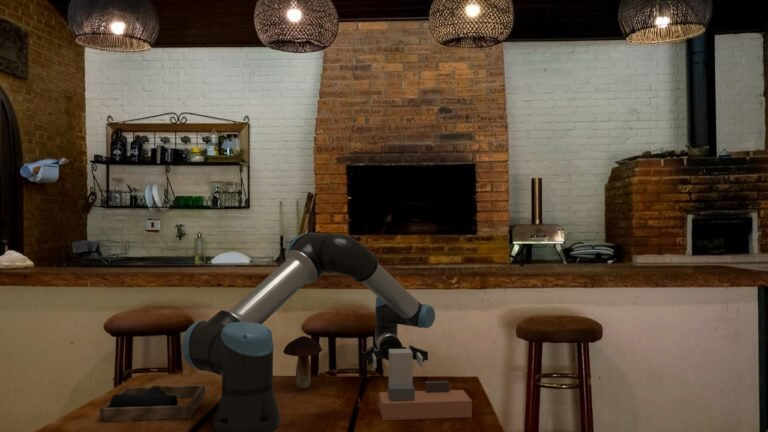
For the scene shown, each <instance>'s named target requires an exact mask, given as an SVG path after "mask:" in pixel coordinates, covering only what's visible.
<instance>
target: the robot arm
mask: <svg viewBox="0 0 768 432" xmlns="http://www.w3.org/2000/svg"><path fill="white" fill-rule="evenodd" d="M288 247H289V249H288V250H287V253H286V254H285V261H284V262H283V263H281V264H280V266H278V267H277V268H276V269H275V270H274V271H273V272H272V273H270V274H269V275H268V276H267V277H266V278H264V279H263V280H262V281H261V282H260V283H259V284H258V285H257V286H255V287H254V288H252V290H251V291H250V292H249V293H248V294H246V295H245V296H244V297H243V298H242V299H240V300H239V301H238V302H237V303H236V304H235V305H234V306H233V307H231V308H230V309H229V310H227V309H221V310H219V311H217V313H216V314H214V315H213V316H212V317H211V318H209V320H200V321H197V322H194V323H193V324H191V325H189V327H188V328H187V330H186V331H185V333H184V334H183V338H182V345H181V351H182V355H183V358H184V360H185V361H186V363H187V364H188V365H190V366H191V367H193V368H196V370H198V371H202V372H203V371H206V372H208V373H213V374H216V375H219V376H221V396H220V398H219V402H218V405H217V409H216V411H215V415H214V419H213V429H214V432H272V431H274V430H276V429H277V428H278V427H279V426H280V425H281V411H280V410H279V405H278V404H277V400H276V397H275V394H274V390H273V384H274V383H273V382H274V379H273V377H274V375H273V373H274V371H273V370H274V342H273V341H274V340H273V333H272V331H271V329H270V328H269V327H268V326H266V325H264V323H265V322H266V321H268V319H270V318H271V316H273V314H275V313H276V312H277V311H278V310H279V309H280V308H281V307H282V306H283V305H284V304H285V303H286V302H287V301H288V300H289V299H290V298H292V297H293V296H294V295H295V294H296V293H297V292H298V291H299V290H300V289H301V288H302V287H304V285H306V284H313V283H315V282H316V281H317V280H319V278H320V277H321V276H322V275H324V274H333V275H334V274H335V275H342V276H346V277H348V278H351V279H352V280H353V281H354V282H356V283H361V284H363V285H364V286H365V287H366V288H367V289H369V291H371V292H372V293H373V294H374V295H376V298H375V307H374V309H375V333H374V343H375V345H376V347H375V346H373V345H372V346H370V347H369V348H368V349H366V350H365V351H362V352H361V362H362V363H365V362H367V365H369V366H370V365H372V367H373V369H377V361H379V360H386V361H388V362H389V349H410V350H411V351H412V353H413V361H416V363H417V364H418V366H419V367H420V368H423V367H424V363H425V361H428V360H429V351H426V350H424V349H421V348H418V347H415V346H413V345H409V346H408V348H407V347H406V346H403V344H402V342H401V340H400V339H399V337H398V325H401V326H408V327H414V328H419V329H422V328H423V329H429V328H431V327H432V326H433V325H434V322H435V320H436V311H435V309H434V307H433V306H432V305H429V304H426V303H424V304H422V303H421V302H419V300H417V299H416V298H415V297H414V296H413V295H412V294H411V293H410V292H409V291H407V289H406V288H404V286H402V284H401V283H400V282H398V280H396V279H395V278H394V277H393V276H392V275H391V274H390V273H389V272H388V271H387V270H386V269H385V268H384V267H383V266H382V265H381V264H380V263H379V259H378V257H377V255H375V254H374V253H373V252H372V251H371V250H370V249H369V248H368V247H366V246H365V245H364V244H362V243H361V242H360V241H358V240H356V239H355V238H353V237H350V235H349V236H348V235H346V234H343V233H322V232H321V233H320V232H318V233H317V232H306V233H305V232H304V233H301V234H298V235H297V236H296V237H294V238H293V239H292V240H291V242H290V244H289V245H288ZM376 348H377V349H376Z"/></svg>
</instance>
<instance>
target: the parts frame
mask: <svg viewBox="0 0 768 432" xmlns="http://www.w3.org/2000/svg"><path fill="white" fill-rule="evenodd" d="M166 386H167V395H175V396H176V397H177V399H181V398H180V397H192V398H191V399H190V400H189V401H188V403H187V404H186V405H185V404H182V405H180V404H178V405H177V406H148V407H118V408H109V407H110V401H111V399H110V400H109V401H108V402H106V404H104V405H103V406H102V407H100V409H99V423H105V422H107V423H109V421H113V422H129V421H128V420H141V421H159V420H158V419H169V420H179V419H178V418H189V417H191V418H192V416H193V415H194V413H195V412H196V410H197V409H198V407H199V406H200V404H201V403H202V401H203V400H204V398H205V397H206V384H198V385H197V384H196V385H195V384H193V385H191V384H190V385H189V384H188V385H166ZM150 387H151V386H132V387H127V386H126V387H124V388H122V390H121V391H119V392H118V393H117V394H130V395H142V394H143V393H145V392H146V391H147V389H149V388H150ZM204 396H205V397H204ZM203 397H204V398H203ZM202 399H203V400H202ZM201 400H202V401H201ZM200 402H201V403H200ZM199 403H200V404H199ZM198 405H199V406H198ZM197 406H198V407H197ZM196 408H197V409H196ZM195 409H196V410H195ZM194 411H195V412H194ZM193 412H194V413H193ZM192 414H193V415H192ZM191 415H192V416H191Z"/></svg>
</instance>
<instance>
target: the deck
mask: <svg viewBox="0 0 768 432" xmlns="http://www.w3.org/2000/svg"><path fill="white" fill-rule="evenodd" d="M424 385H425V387H424V388H425V389H424V390H419V391H418V390H415V387H414V384H413V385H412V383H389V382H388V383H387V391H386V392H383V391H382V392H378V409H379V413H380V415H381V419H382V421H401V420H402V421H403V420H430V419H455V418H456V419H457V418H461V419H462V418H472V417H473V400H472V399H471V398H470V396H469V395H468V393H466V391H465V390H464V389H453V390H451V389H450V382H449V380H432V381H431V380H429V381H427V380H426V381H424Z"/></svg>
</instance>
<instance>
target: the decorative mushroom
mask: <svg viewBox="0 0 768 432" xmlns="http://www.w3.org/2000/svg"><path fill="white" fill-rule="evenodd" d="M322 351H323V348H322V346H321V345H320V343H319V342H318V341H316V340H314V339H313V338H311V337H309V336H305V335H303V336H302V335H301V336H299V337H297V338H295V339H293V340H292V341H290V342H289V343H287V344H286V346H285V348H284V349H283V351H282V352H283V354H284V355H287V356H292V357H297V364H296V367H295V368H296V370H295V384H296V385H295V386H296V387H297V388H298V389H300V390H306V389H308V388H309V387H310V386H311V383H312V381H311V379H312V375H311V364H310V357H311V356H316V355H318V354H320V353H321V352H322Z"/></svg>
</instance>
